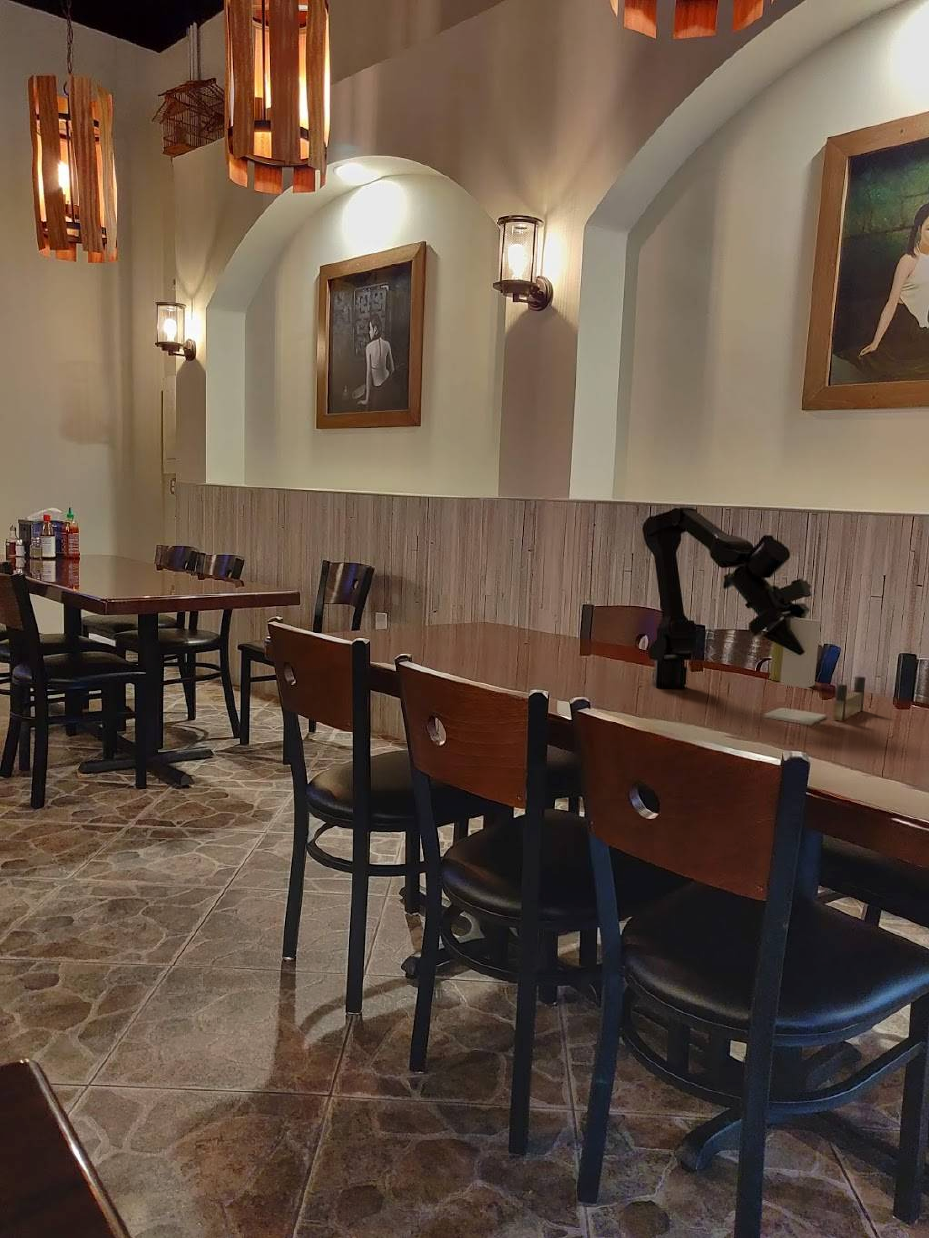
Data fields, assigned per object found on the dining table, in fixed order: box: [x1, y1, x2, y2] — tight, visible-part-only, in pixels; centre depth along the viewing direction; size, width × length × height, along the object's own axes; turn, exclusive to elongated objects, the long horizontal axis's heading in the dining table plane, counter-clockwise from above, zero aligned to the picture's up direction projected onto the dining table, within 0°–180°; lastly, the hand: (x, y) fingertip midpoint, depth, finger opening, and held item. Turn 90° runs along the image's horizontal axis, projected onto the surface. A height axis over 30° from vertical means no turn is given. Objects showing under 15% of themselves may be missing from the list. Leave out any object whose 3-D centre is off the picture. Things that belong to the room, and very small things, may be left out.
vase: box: [768, 641, 783, 682], centre depth 226 cm, size 6×6×14 cm
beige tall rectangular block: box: [779, 618, 821, 689], centre depth 184 cm, size 5×5×13 cm
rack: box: [832, 676, 866, 722], centre depth 189 cm, size 2×14×7 cm, turn 141°
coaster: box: [764, 707, 827, 726], centre depth 185 cm, size 9×9×1 cm
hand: (807, 652), depth 183 cm, fingers closed on beige tall rectangular block, 5 cm apart
